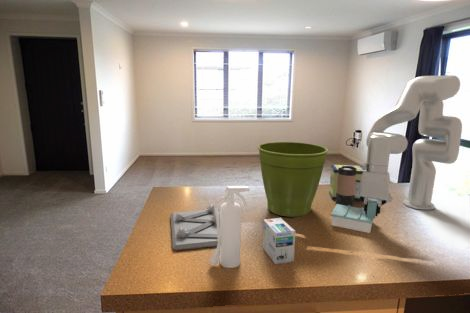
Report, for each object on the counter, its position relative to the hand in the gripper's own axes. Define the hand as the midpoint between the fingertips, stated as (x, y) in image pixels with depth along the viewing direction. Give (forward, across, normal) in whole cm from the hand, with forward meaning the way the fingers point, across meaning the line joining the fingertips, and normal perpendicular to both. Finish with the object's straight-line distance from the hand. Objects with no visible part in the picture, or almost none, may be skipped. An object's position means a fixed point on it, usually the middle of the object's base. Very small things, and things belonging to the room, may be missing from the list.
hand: (371, 213), depth 118 cm
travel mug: (+7, -12, +14) cm, 20 cm away
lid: (+1, -6, 0) cm, 7 cm away
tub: (+6, -6, 0) cm, 9 cm away
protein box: (+7, -14, +34) cm, 37 cm away
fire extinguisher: (+7, -37, -47) cm, 60 cm away
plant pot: (+7, -34, +4) cm, 35 cm away
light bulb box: (+7, -25, -35) cm, 44 cm away
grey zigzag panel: (+7, -58, -32) cm, 67 cm away
